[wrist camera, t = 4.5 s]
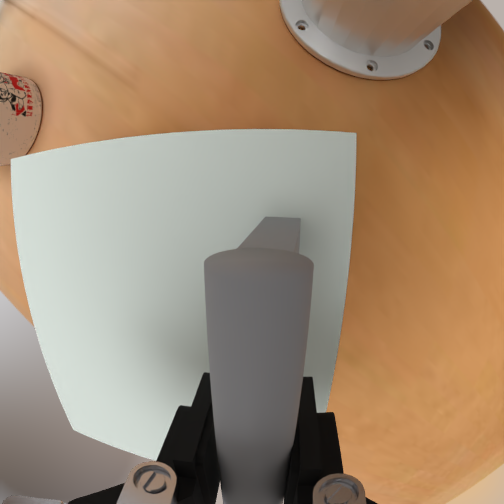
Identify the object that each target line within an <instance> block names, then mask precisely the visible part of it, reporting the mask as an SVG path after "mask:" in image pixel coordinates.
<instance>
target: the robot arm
mask: <svg viewBox="0 0 504 504" xmlns="http://www.w3.org/2000/svg"><path fill="white" fill-rule="evenodd" d="M471 1H472V0H279V4H280V9H281V13H282V17H283V20H284V21H285V23H286V25H287V27H288V29H289V31H290V32H291V34H292V35H293V36H294V37H295V39H296V40H297V41H298V42H299V44H301V45H302V46H303V47H304V48H305V49H306V50H307V51H308V52H309V53H310V54H312V55H313V56H315V57H316V58H318V59H319V60H321V61H322V62H323V63H325V64H327V65H329V66H331V67H333V68H335V69H337V70H339V71H341V72H344V73H347V74H350V75H353V76H356V77H361V78H367V79H372V80H391V79H397V78H403V77H405V76H408V75H410V74H413V73H415V72H416V71H418V70H419V69H421V68H423V67H424V66H425V65H426V64H427V63H428V62H429V61H431V60H432V58H433V57H434V55H435V54H436V52H437V50H438V47H439V44H440V40H441V24H443V23H444V22H445V21H446V20H448V19H449V18H450V17H452V16H453V15H454V14H455V13H457V12H458V11H459V10H461V9H462V8H463V7H464V6H466V5H467V4H468V3H470V2H471ZM298 28H304V29H305V30H299V29H298ZM366 66H369V67H370V68H371V69H372V71H370V70H368V68H367V67H366ZM219 483H220V474H219V466H218V457H217V448H216V438H215V428H214V417H213V406H212V395H211V383H210V373H207V372H204V373H203V375H202V378H201V381H200V383H199V386H198V389H197V392H196V394H195V397H194V400H193V403H192V406H183V405H180V406H179V407H178V409H177V411H176V413H175V416H174V418H173V421H172V423H171V426H170V428H169V431H168V433H167V435H166V438H165V440H164V443H163V445H162V448H161V450H160V453H159V455H158V458H157V460H156V461H149V462H143V463H141V464H138V465H137V466H135V467H134V468H133V469H132V470H131V472H130V473H129V475H128V477H127V480H126V482H125V483H123V484H120V485H117V486H115V487H111V488H109V489H106V490H103V491H100V492H97V493H93V494H90V495H87V496H84V497H80V498H77V499H74V500H72V501H70V502H69V503H63V502H62V501H61V500H49V499H39V498H31V497H24V496H17V495H15V496H9V497H7V498H6V499H5V500H4V501H3V503H2V504H215V502H216V498H217V493H218V487H219ZM284 504H377V503H375V502H374V501H372V500H370V499H368V498H366V497H365V490H364V487H363V485H362V484H361V482H360V481H359V480H358V479H356V478H355V477H353V476H350V475H347V474H344V473H343V466H342V459H341V452H340V446H339V439H338V433H337V427H336V421H335V416H334V413H333V412H325V413H317V410H316V401H315V392H314V384H313V377H303V381H302V389H301V396H300V403H299V410H298V417H297V424H296V431H295V437H294V443H293V446H292V449H291V456H290V462H289V469H288V475H287V482H286V488H285V493H284Z"/></svg>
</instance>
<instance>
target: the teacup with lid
mask: <svg viewBox="0 0 504 504" xmlns="http://www.w3.org/2000/svg"><path fill="white" fill-rule="evenodd" d="M41 113H42V102H41V96H40V92H39V90H38V88H37V86H36V84H35V83H34V82H33V81H32V80H30V79H28V78H24V77H20V76H15V75H11V74H6V73H1V72H0V166H2V165H10V164H11V159H13V158H17V157H21V156H25V154H26V153H27V152H28V151H29V149H30V147H31V146H32V144H33V142H34V140H35V138H36V135H37V132H38V129H39V126H40V121H41Z"/></svg>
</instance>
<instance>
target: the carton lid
mask: <svg viewBox="0 0 504 504" xmlns="http://www.w3.org/2000/svg"><path fill="white" fill-rule="evenodd" d="M355 177H356V133H350V132H336V131H319V130H293V129H233V130H207V131H189V132H175V133H164V134H153V135H143V136H134V137H126V138H118V139H111V140H104V141H98V142H91V143H85V144H79V145H74V146H68V147H63V148H58V149H53V150H48V151H43V152H38V153H34V154H30V155H25V156H21V157H17V158H13V159H11V186H12V202H13V214H14V224H15V232H16V240H17V247H18V253H19V259H20V265H21V271H22V276H23V281H24V286H25V290H26V295H27V299H28V303H29V308H30V312H31V315H32V319H33V323H34V326H35V330H36V333H37V337H38V340H39V343H40V347H41V350H42V353H43V356H44V359H45V361H46V365H47V367H48V370H49V373H50V376H51V378H52V381H53V384H54V386H55V389H56V391H57V394H58V396H59V399H60V401H61V403H62V406H63V408H64V410H65V412H66V415H67V417H68V419H69V422H70V424H71V426H72V428H73V430H75V431H77V432H79V433H82V434H84V435H86V436H88V437H91V438H93V439H96V440H98V441H101V442H103V443H106V444H108V445H111V446H113V447H116V448H119V449H122V450H124V451H127V452H130V453H133V454H137V455H139V456H142V457H145V458H148V459H152V460H155V461H156V460H157V458H158V455H159V453H160V450H161V448H162V445H163V443H164V440H165V438H166V435H167V433H168V431H169V428H170V426H171V423H172V421H173V418H174V416H175V413H176V411H177V409H178V407H179V406H180V405H183V406H192V403H193V400H194V397H195V394H196V392H197V389H198V386H199V383H200V381H201V378H202V375H203V373H204V372H207V373H210V383H211V395H212V406H213V417H214V428H215V438H216V448H217V457H218V466H219V474H220V482H221V490H222V497H223V504H283V499H284V493H285V488H286V482H287V475H288V469H289V462H290V456H291V449H292V446H293V443H294V437H295V431H296V424H297V417H298V410H299V403H300V396H301V389H302V381H303V377H313V384H314V392H315V401H316V410H317V413H325V412H326V410H327V405H328V400H329V395H330V390H331V385H332V380H333V375H334V369H335V364H336V358H337V352H338V346H339V340H340V333H341V327H342V320H343V313H344V305H345V298H346V290H347V281H348V272H349V263H350V252H351V241H352V229H353V215H354V199H355Z"/></svg>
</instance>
